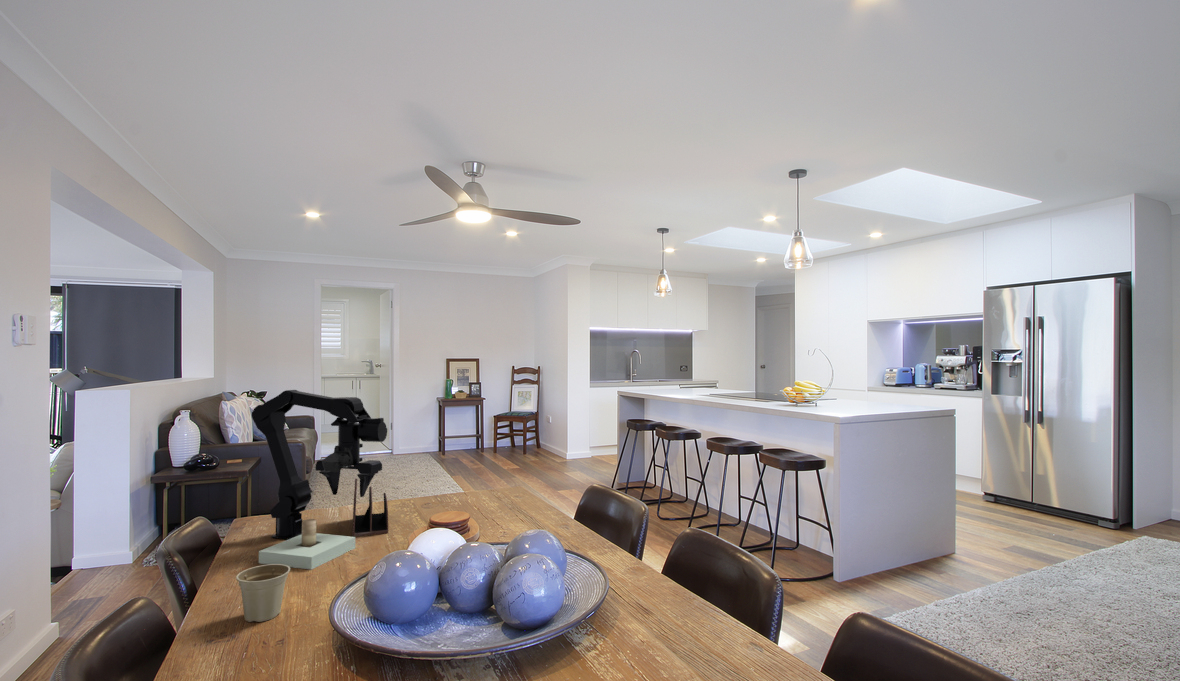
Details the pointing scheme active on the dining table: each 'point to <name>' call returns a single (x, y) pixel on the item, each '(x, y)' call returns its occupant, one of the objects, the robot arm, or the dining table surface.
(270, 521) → the dining table surface
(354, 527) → the letter holder
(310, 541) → the peg
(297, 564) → the board
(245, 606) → the flower pot
